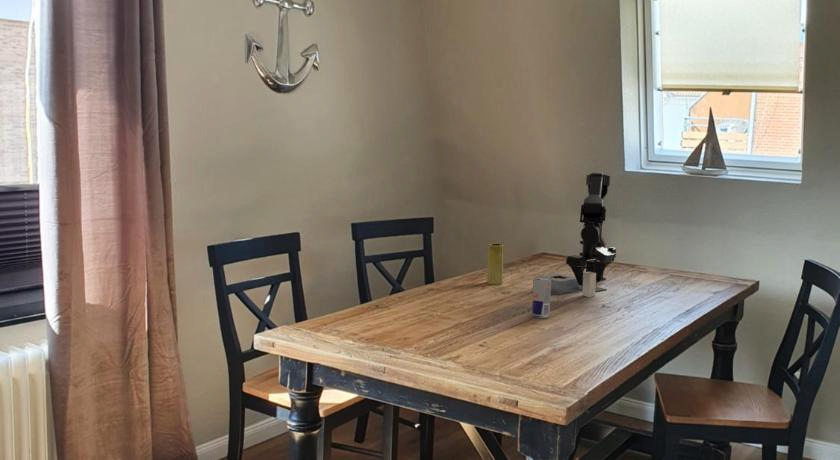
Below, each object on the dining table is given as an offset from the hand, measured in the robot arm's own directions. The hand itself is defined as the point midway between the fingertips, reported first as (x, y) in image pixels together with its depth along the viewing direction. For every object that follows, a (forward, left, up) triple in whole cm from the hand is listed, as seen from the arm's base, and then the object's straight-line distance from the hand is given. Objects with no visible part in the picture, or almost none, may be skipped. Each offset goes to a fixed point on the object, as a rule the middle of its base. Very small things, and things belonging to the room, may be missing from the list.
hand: (589, 283), depth 294 cm
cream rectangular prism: (0, 0, -4) cm, 4 cm away
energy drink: (+35, +11, -4) cm, 37 cm away
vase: (+13, -33, -4) cm, 36 cm away
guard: (+2, -12, -4) cm, 13 cm away
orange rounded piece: (+2, -12, -2) cm, 12 cm away
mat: (-8, -6, -4) cm, 11 cm away
